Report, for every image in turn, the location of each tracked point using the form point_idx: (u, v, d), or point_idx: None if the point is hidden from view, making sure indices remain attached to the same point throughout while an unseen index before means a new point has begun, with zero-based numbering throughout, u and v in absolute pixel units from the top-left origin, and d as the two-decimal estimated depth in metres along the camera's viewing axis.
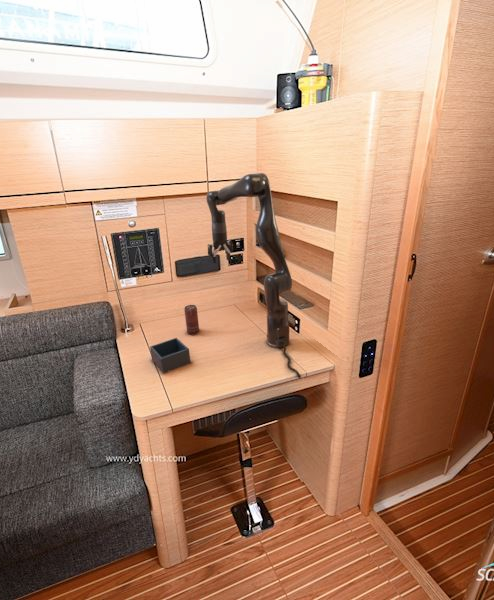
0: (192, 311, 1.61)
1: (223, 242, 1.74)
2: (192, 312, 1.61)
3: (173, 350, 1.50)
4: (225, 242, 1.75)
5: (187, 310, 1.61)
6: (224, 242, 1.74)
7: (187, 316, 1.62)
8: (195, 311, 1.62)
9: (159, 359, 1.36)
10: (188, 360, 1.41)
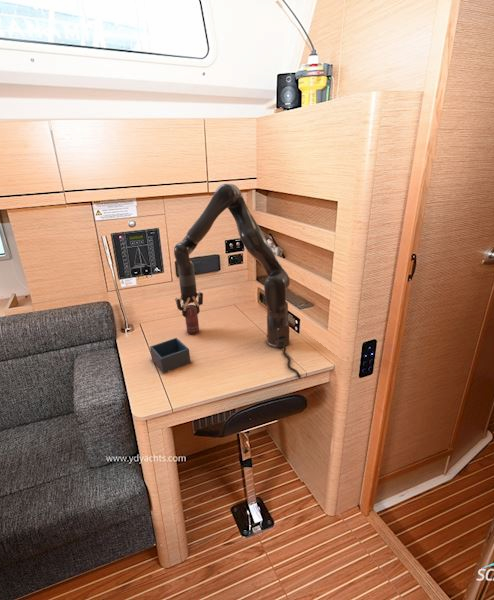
0: (192, 311, 1.61)
1: (192, 294, 1.60)
2: (192, 312, 1.61)
3: (173, 350, 1.50)
4: (194, 294, 1.61)
5: (187, 310, 1.61)
6: (193, 294, 1.60)
7: (187, 316, 1.62)
8: (195, 311, 1.62)
9: (159, 359, 1.36)
10: (188, 360, 1.41)
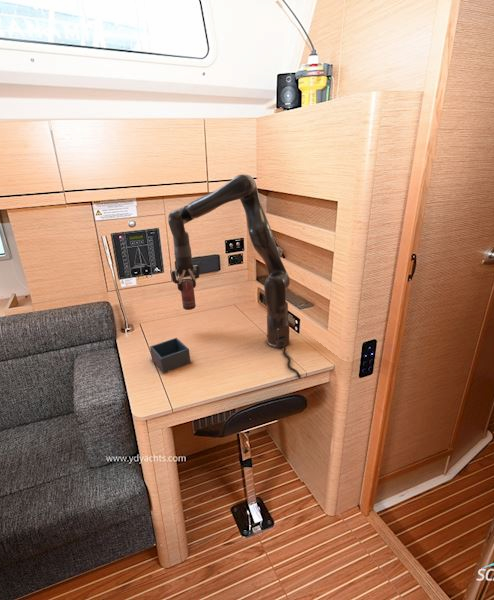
0: (188, 284, 1.54)
1: (188, 266, 1.53)
2: (188, 285, 1.54)
3: (173, 350, 1.50)
4: (190, 266, 1.54)
5: (183, 283, 1.54)
6: (189, 266, 1.54)
7: (183, 290, 1.55)
8: (191, 284, 1.55)
9: (159, 359, 1.36)
10: (188, 360, 1.41)
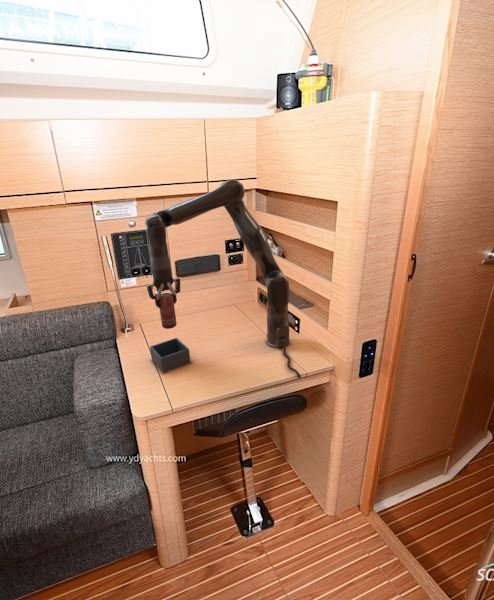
0: (167, 300, 1.34)
1: (167, 280, 1.33)
2: (167, 301, 1.34)
3: (173, 350, 1.50)
4: (170, 280, 1.34)
5: (161, 299, 1.34)
6: (168, 280, 1.34)
7: (161, 306, 1.35)
8: (171, 300, 1.35)
9: (159, 359, 1.36)
10: (188, 360, 1.41)
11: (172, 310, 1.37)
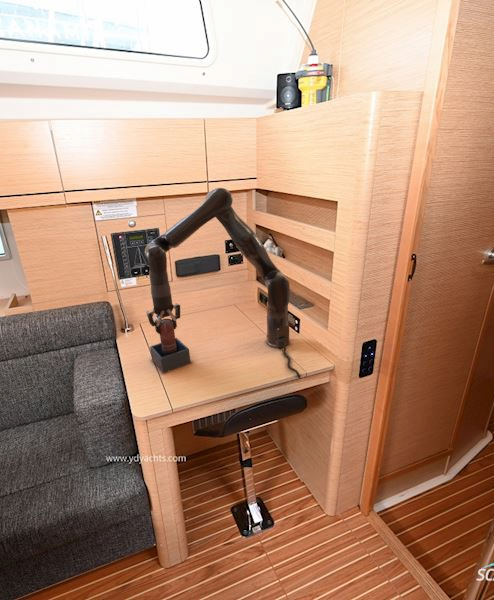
0: (167, 327, 1.35)
1: (167, 306, 1.34)
2: (167, 328, 1.35)
3: None
4: (170, 306, 1.35)
5: (161, 325, 1.35)
6: (169, 306, 1.35)
7: (161, 332, 1.36)
8: (171, 326, 1.36)
9: (159, 359, 1.36)
10: (188, 360, 1.41)
11: (172, 336, 1.38)
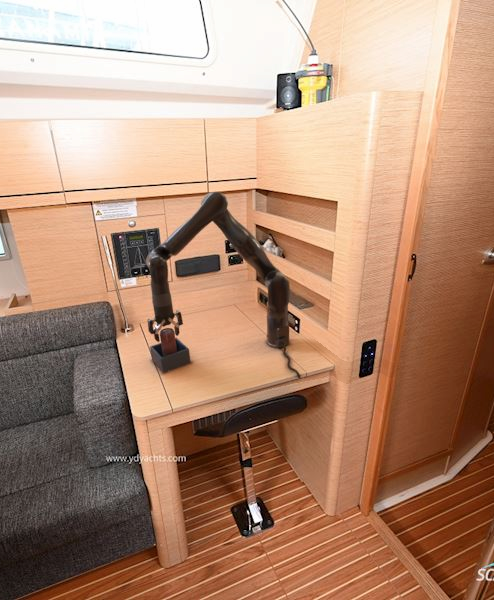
0: (168, 336, 1.37)
1: (168, 315, 1.36)
2: (168, 337, 1.37)
3: None
4: (171, 315, 1.36)
5: (162, 335, 1.37)
6: (170, 315, 1.36)
7: (163, 342, 1.38)
8: (172, 336, 1.38)
9: (159, 359, 1.36)
10: (188, 360, 1.41)
11: (173, 345, 1.40)
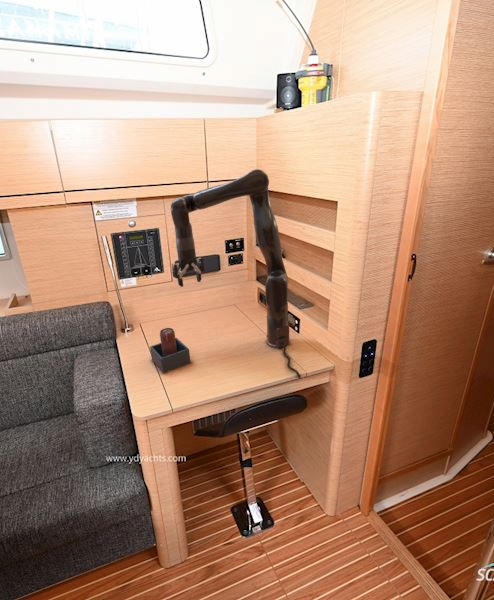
0: (168, 336, 1.37)
1: (191, 260, 1.42)
2: (168, 337, 1.37)
3: None
4: (194, 260, 1.42)
5: (163, 335, 1.37)
6: (192, 260, 1.42)
7: (163, 342, 1.38)
8: (172, 336, 1.38)
9: (159, 359, 1.36)
10: (188, 360, 1.41)
11: (174, 345, 1.40)
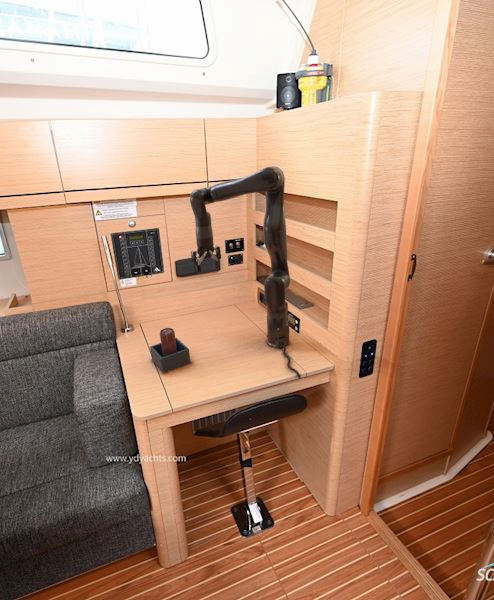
0: (168, 336, 1.37)
1: (209, 248, 1.51)
2: (168, 337, 1.37)
3: None
4: (211, 248, 1.51)
5: (163, 335, 1.37)
6: (210, 248, 1.51)
7: (163, 342, 1.38)
8: (172, 336, 1.38)
9: (159, 359, 1.36)
10: (188, 360, 1.41)
11: (174, 345, 1.40)
